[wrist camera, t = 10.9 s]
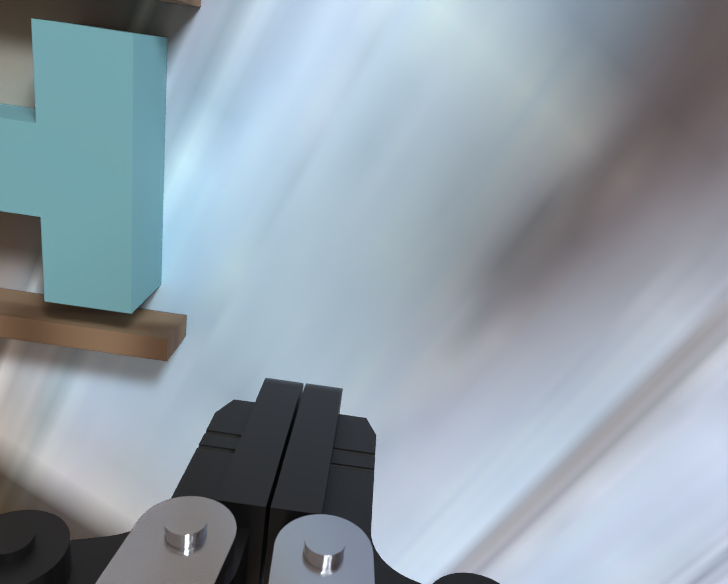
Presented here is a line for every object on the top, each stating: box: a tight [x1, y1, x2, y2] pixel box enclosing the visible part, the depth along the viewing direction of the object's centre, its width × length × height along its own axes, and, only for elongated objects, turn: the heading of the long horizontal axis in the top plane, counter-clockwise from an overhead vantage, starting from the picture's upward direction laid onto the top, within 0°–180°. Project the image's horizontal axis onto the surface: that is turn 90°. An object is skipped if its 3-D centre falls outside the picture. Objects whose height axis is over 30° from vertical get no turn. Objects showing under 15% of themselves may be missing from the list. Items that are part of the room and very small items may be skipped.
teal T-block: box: [0, 18, 167, 314], centre depth 28 cm, size 11×12×4 cm
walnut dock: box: [0, 0, 201, 361], centre depth 28 cm, size 14×17×3 cm
